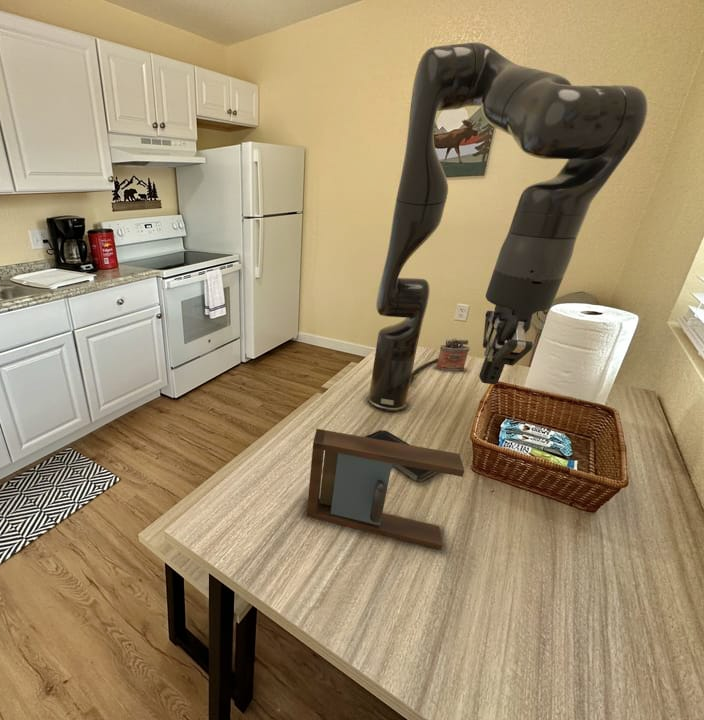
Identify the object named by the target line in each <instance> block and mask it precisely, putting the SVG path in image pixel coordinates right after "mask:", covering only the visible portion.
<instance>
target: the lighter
mask: <svg viewBox="0 0 704 720" xmlns="http://www.w3.org/2000/svg"><path fill="white" fill-rule="evenodd" d="M469 343H470V341H469V340H468V339H458V338H452V339H446V340H445V344H440V346H439V349H440V350H439V355H438V357H437V358H438V362H436V364H435V369H436V370H438V371H443V372H452V373H453V372H457V373H458V372H464V371H465V366H466V361H467V358H468V353H469V352H470V347H469V346H468V345H469Z"/></svg>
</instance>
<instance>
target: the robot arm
mask: <svg viewBox="0 0 704 720" xmlns="http://www.w3.org/2000/svg"><path fill="white" fill-rule="evenodd" d="M466 107H468V108H469V107H480V108H481V113H482V116H483V119H484V120H485V121H486V122H487V123H488V124H489V125H490V126H492V127H494V128H495V129H497V130H498V131H501V132H504V133H505V134H507V135H510V136H512V138H513V140H514V141H515V143H516V144H517V146H518V147H519V149H520V150H521V151H522V152H523V153H524V154H526V155H527V156H531V157H533V158H536V159H541V160H567V161H566V162H565V163H564V165H563V166H562V167H561V169H560V170H559V171H558V173H557V174H556V175H555V176H554V177H553V178H550V179H547V180H543V181H540V182H535V183H533V184H530V185H528V186H527V187H525V188H524V189H523V191H522V193H521V194H520V196H519V199H518V201H517V204H516V206H515V207H516V208H515V210H514V214H513V217H512V219H511V223H510V226H509V229H508V231H507V234H506V237H505V239H504V241H503V243H502V245H501V247H500V250H499V253H498V256H497V259H496V262H495V265H494V268H493V271H492V275H491V277H490V281H489V283H488V287H487V290H486V293H485V299H486V300H487V302H488V303H490V304H492V305H494V310H487V311H486V312H485V320H484V329H483V330H484V331H483V339H482V348H483V349H485V350H484V353H483V354H484V357H485V358H484V360H483V363H482V366H481V369H480V372H479V375H478V377H479V380H480V381H481V383H483V384H487V385H498V384H499V381H500V379H501V376H502V373H503V370H504V368H505V365H506V366H511V367H513V366H515V365H516V364H517V363H518V362H519V361H520V360H521V359H523V358H524V356H526V355H527V354H528V353H529V352H531V350H532V349H533V346H534V345H533V341H529V340H526V335H527V334H528V333H529V332H530V330H531V328H532V323H533V322H532V319H533V315H534V314H535V313H538V312H545V311H547V310H549V309H551V307H552V306H553V303H554V301H555V300H556V296H557V294H558V292H559V289H560V287H561V284H562V281H563V279H564V277H565V274H566V272H567V269H568V268H569V265H570V262H571V260H572V258H573V255H574V254H573V253H574V250H575V246H576V242H577V239H578V236H579V233H580V231H581V228H582V226H583V224H584V221H585V220H586V217H587V214H588V212H589V209H590V206H591V204H592V202H593V200H594V199H595V198H596V196H597V195H598V193H600V191H601V190H602V188H603V187H604V186H605V185H606V183H607V182H608V180H609V179H610V178H611V176H612V175H613V173H614V172H615V171H616V169H617V168H618V167H619V165H620V164H621V163H622V161H623V160H624V159H625V157H626V156H627V155H628V153H629V151H631V149H632V148H633V146H634V145H635V143H636V141H637V140H638V138H639V137H640V135H641V133H642V131H643V129H644V126H645V123H646V120H647V115H648V100H647V97H646V94H645V93H644V91H643V90H642V89H640V87H638V86H637V87H636V86H634V85H627V84H626V85H625V84H624V85H622V84H621V85H616V84H615V85H614V84H613V85H573V84H572V83H571V81H569V79H567V78H566V77H564V76H562V75H560V74H558V73H557V74H556V73H553V72H549V71H545V70H541V69H537V68H532V67H529V66H528V67H527V66H523V65H519V64H517V63H515V62H513V61H511V60H510V59H508V58H507V57H505V56H503V55H502V54H501V53H500V52H498V51H497V50H496V49H494V48H493V47H491V46H490V45H488V44H485V43H483V42H463V43H455V44H453V43H452V44H445V45H438V46H437V45H436V46H432V47H430V48H427V50H426V51H425V52H424V53H423V54H422V56H421V58H420V59H419V62H418V64H417V68H416V71H415V75H414V79H413V85H412V90H411V99H410V108H409V117H408V127H407V135H406V145H405V152H404V157H403V164H402V169H401V175H400V180H399V184H398V188H397V194H396V198H395V203H394V209H393V216H392V223H391V229H390V236H389V242H388V248H387V253H386V258H385V262H384V266H383V270H382V273H381V279H380V281H379V285H378V291H377V295H376V303H375V304H376V311H377V314H378V315H380V316H382V317H389V318H390V317H391V318H404V319H403V320H401V321H400V322H398V323H395V324H391V325H388V326H385V327H382V328H381V329H380V330H379V331H378V333H377V340H376V346H375V353H374V360H373V367H372V372H371V373H372V374H371V379H370V386H369V393H368V395H367V396H368V397H367V402H368V403H369V405H371V406H372V407H373V408H376V409H378V410H381V411H385V412H399V411H403V410H405V408H406V406H407V400H408V394H409V389H410V385H411V383H412V381H413V379H414V376H415V375H416V374H418V373H419V372H420V371H422V370H424V369H425V368H427V367H429V366H431V365H433V364H435V363H436V364H437V363H438V358H439V357H437V358H436V359H433V360H430V361H429V362H426V363H425V364H423V365H421V366H419V367H417V368H416V369H415V370H414V365H415V360H416V354H417V349H418V345H419V339H420V337H421V335H420V334H421V331H422V327H423V326H422V325H423V322H424V319H425V315H426V312H427V308H428V303H429V299H430V284H429V282H428V280H427V279H425V278H416V277H415V278H414V277H413V278H412V277H399V276H400V274H401V272H402V270H403V268H404V266H405V265H406V263H407V262H408V261H409V259H410V258H411V257H412V256H413V255H414V254H415V253H416V251H418V250H419V248H420V247H422V246H423V245H424V244H425V243H426V241H428V240H429V239H430V238H431V237H432V236H433V234H434V233H435V232H436V230H437V229H438V227H439V226H440V224H441V222H442V218H443V215H444V211H445V207H446V203H447V199H448V193H449V183H448V179H447V176H446V173H445V171H444V168H443V166H442V163H441V161H440V159H439V156H438V152H437V150H436V146H435V124H436V118H437V117H436V116H437V113H438V112H441V111H442V112H443V111H451V110H453V111H454V110H460V109H463V108H466Z"/></svg>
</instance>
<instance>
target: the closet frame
mask: <svg viewBox="0 0 704 720" xmlns="http://www.w3.org/2000/svg"><path fill="white" fill-rule="evenodd" d="M311 451H312V452H311V462H310V473H309V485H308V497H307V506H306V507H307V509H306V518H310V519H314V520H318V521H322V522H325V523H330V524H334V525H337V526H342V527H346V528H349V529H354V530H358V531H362V532H366V533H369V534H374V535H377V536H382V537H384V538H385V537H386V538H389V539H394V540H397V541H402V542H404V543H405V542H406V543H410V544H413V545H418V546H422V547H426V548H430V549H433V550H437V551H442V549H443V546H444V545H443V540H442V534H441V529H440V528H441V527H440V525H436V524H432V523H427V522H424V521H418V520H415V519H410V518H406V517H402V516H397V515H393V514H389V513H386V512H385V513H384V512H383V513H382V518H381V524H380V526H379V525H375V524H370V523H366V522H362V521H358V520H354V519H350V518H346V517H342V516H338V515H333V514H331V506H332V498H333V490H334V482H335V474H336V465H337V457H338V453H341V454H346V455H352V456H357V457H362V458H367V459H372V460H378V461H383V462H388V463H393V464H398V465H403V466H409V467H414V468H419V469H424V470H429V471H435V472H438V473H441V474H445V475H450V476H456V477H462V478H463V477H464V475H465V472H466V470H465V466H464V464H463V460H462V457H461V454H460V453H457V452H452V451H445V450H440V449H436V448H435V449H434V448H429V447H423V446H417V445H413V444H412V445H411V444H410V445H407V444H401V443H395V442H390V441H384V440H378V439H373V438H367V437H366V436H361V435H355V434H349V433H343V432H337V431H332V430H326V429H321V428H316V430H315V434H314V438H313V441H312V450H311Z"/></svg>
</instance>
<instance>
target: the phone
mask: <svg viewBox="0 0 704 720" xmlns="http://www.w3.org/2000/svg"><path fill="white" fill-rule="evenodd" d="M365 437H367V438H373V439H378V440H384V441H390V442H395V443H401V444H407V445H411V444H409V443H408V442H406V441H404V440H403V439H402V438H400V437H398V436H396V435H395V434H393V433H391V432H389V431H388V430H386V429H380V430H378V431H376V432H372V433H371V434H368V435H366V436H365ZM392 467H394V468H395V469H397V470H398V471H399V472H401V473H402V474H404V475H406V476H407V477H408V478H410V479H411V480H413V481H415V482H418V483H421V482H423V481H425V480H427V479H429V478H431V477H433V476H435V475H436V474H438V473H439V472H435V471H429V470H424V469H419V468H414V467H409V466H403V465H398V464H393V463H392Z"/></svg>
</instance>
